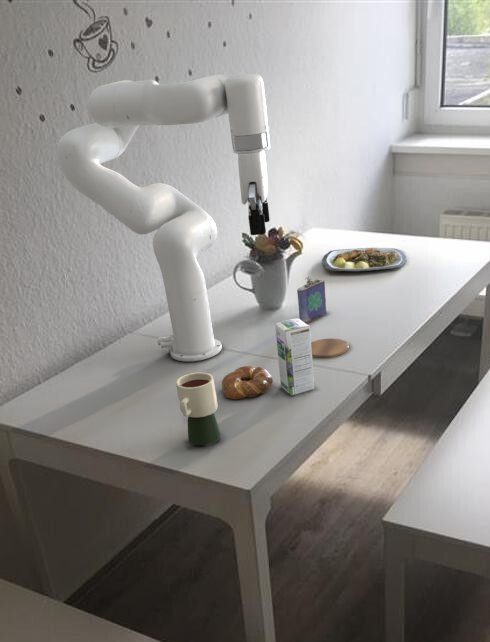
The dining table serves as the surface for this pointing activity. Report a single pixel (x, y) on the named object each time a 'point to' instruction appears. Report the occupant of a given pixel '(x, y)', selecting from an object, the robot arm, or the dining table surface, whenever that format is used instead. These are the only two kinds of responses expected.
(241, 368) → the pretzel
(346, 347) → the cork coaster
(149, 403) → the dining table surface
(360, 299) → the dining table surface
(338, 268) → the meal
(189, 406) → the character mug
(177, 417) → the dining table surface
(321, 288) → the flask
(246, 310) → the dining table surface
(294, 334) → the syrup box
